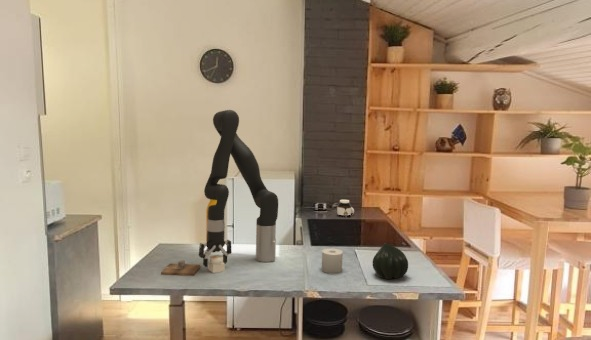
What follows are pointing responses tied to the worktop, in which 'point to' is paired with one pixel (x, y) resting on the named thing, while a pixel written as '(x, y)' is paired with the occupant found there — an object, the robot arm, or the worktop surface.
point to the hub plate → (181, 269)
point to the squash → (390, 262)
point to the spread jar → (344, 208)
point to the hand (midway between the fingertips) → (215, 264)
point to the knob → (216, 264)
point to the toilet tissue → (332, 261)
